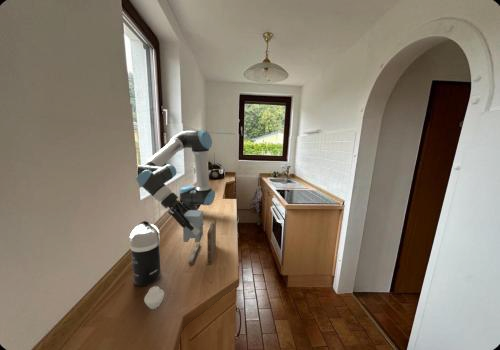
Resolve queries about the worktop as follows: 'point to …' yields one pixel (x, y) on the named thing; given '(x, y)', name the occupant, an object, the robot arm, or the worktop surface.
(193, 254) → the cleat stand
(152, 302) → the white rock
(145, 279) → the black white bottle
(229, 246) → the worktop surface
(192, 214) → the mini cabinet
